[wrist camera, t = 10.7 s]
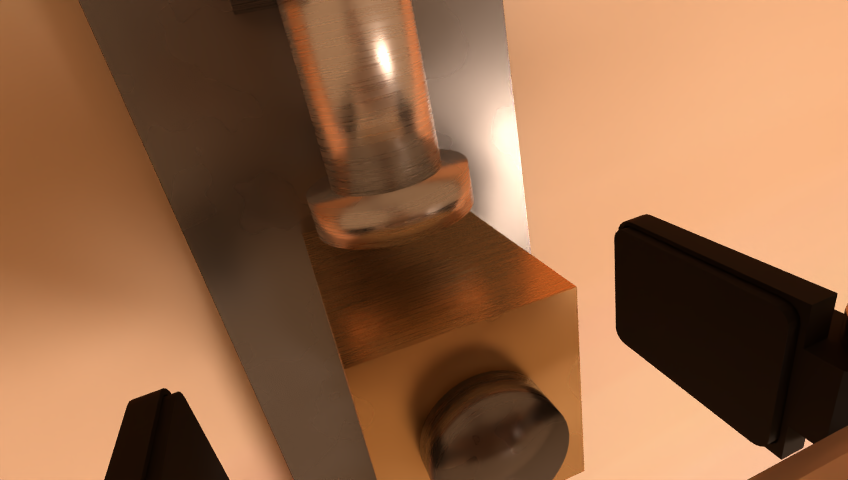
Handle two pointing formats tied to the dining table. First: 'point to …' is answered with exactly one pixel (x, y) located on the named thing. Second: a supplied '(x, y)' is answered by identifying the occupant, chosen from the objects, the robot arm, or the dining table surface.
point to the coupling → (457, 355)
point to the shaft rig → (314, 164)
